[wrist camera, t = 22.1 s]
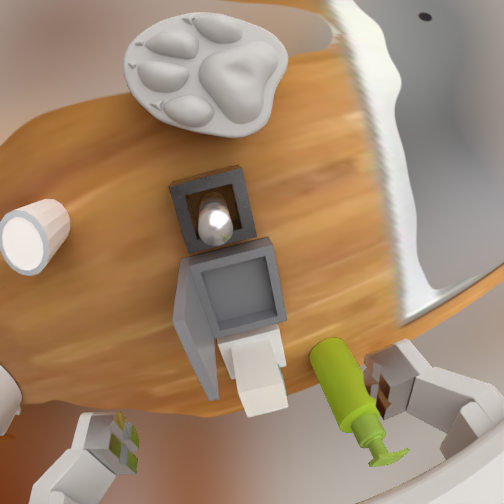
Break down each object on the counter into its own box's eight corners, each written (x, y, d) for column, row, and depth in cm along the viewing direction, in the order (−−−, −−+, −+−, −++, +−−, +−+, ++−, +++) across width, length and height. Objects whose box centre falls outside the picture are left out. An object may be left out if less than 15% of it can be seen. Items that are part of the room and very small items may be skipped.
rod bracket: (189, 243, 33) (188, 254, 30) (172, 181, 30) (169, 186, 27) (252, 227, 33) (256, 236, 30) (238, 164, 30) (242, 168, 28)
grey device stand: (205, 328, 37) (209, 400, 26) (180, 258, 33) (172, 322, 22) (282, 309, 38) (310, 375, 27) (268, 236, 34) (299, 290, 23)
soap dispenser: (339, 369, 44) (392, 469, 26) (302, 365, 43) (349, 478, 24) (357, 340, 43) (423, 442, 24) (320, 334, 41) (381, 450, 22)
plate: (230, 373, 41) (231, 379, 40) (217, 338, 38) (217, 344, 37) (284, 360, 42) (286, 365, 40) (277, 323, 39) (279, 328, 38)
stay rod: (196, 196, 31) (194, 217, 24) (222, 189, 31) (228, 208, 24) (203, 221, 32) (203, 249, 25) (228, 214, 32) (236, 241, 25)
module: (239, 372, 40) (247, 417, 32) (230, 347, 38) (238, 393, 30) (276, 363, 40) (290, 406, 33) (270, 337, 38) (284, 381, 31)
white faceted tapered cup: (35, 252, 30) (7, 278, 24) (23, 198, 27) (-10, 215, 21) (80, 247, 31) (56, 274, 24) (69, 189, 28) (40, 205, 22)
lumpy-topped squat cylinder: (247, 146, 30) (263, 151, 22) (126, 116, 27) (98, 111, 19) (277, 56, 26) (303, 33, 18) (157, 25, 23) (143, -7, 15)
